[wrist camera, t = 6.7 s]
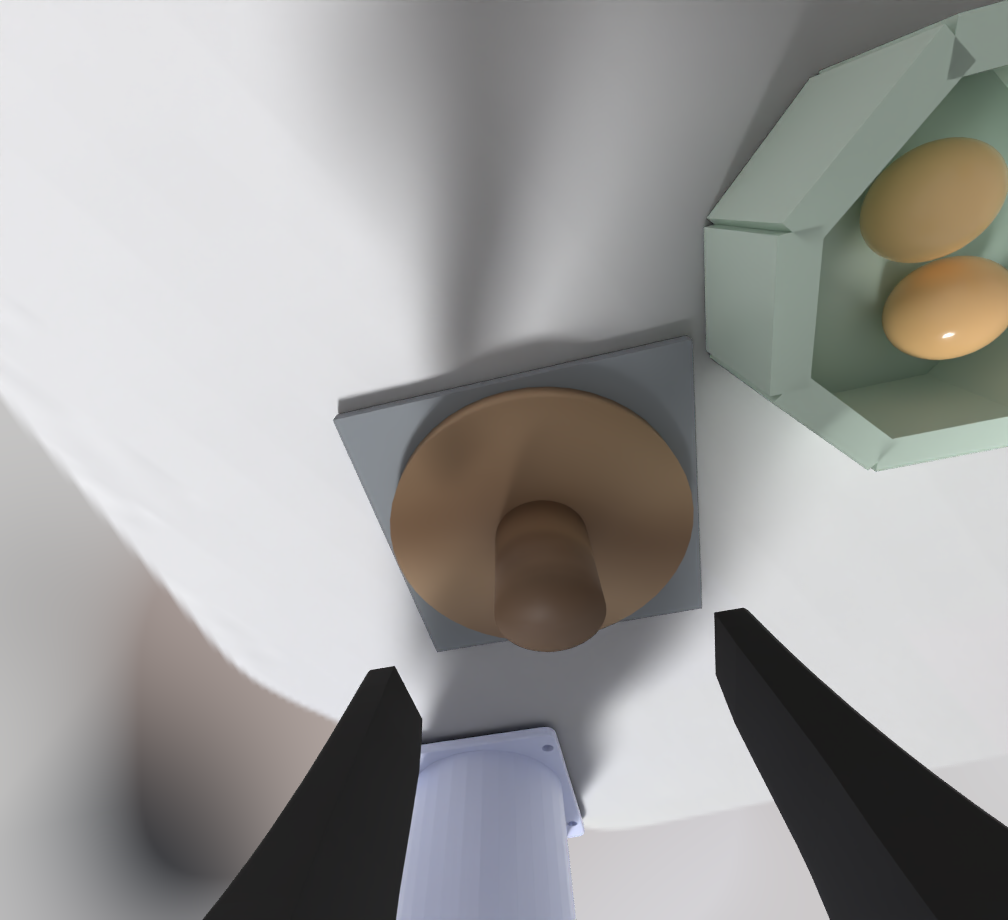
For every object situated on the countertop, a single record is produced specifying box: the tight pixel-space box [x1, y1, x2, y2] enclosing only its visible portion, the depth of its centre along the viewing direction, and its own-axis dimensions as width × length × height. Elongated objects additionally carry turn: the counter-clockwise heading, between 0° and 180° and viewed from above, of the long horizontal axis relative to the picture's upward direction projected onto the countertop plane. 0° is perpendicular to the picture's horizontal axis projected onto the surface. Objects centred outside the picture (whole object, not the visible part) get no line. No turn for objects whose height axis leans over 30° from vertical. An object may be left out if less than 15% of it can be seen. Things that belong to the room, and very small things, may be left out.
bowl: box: [704, 0, 1008, 472], centre depth 10 cm, size 8×8×3 cm
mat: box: [333, 336, 702, 652], centre depth 15 cm, size 10×10×1 cm
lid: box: [390, 387, 694, 652], centre depth 13 cm, size 9×9×4 cm
